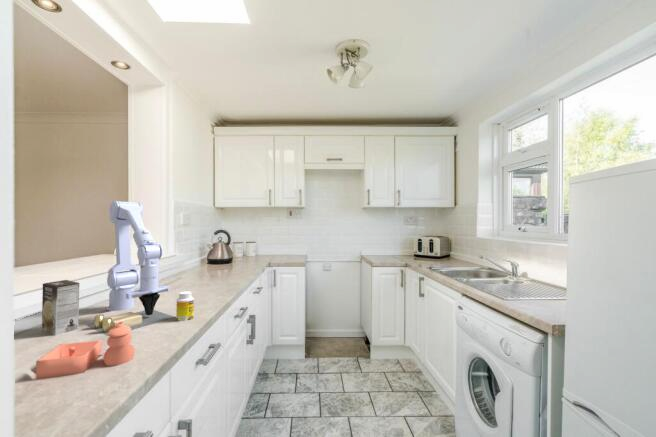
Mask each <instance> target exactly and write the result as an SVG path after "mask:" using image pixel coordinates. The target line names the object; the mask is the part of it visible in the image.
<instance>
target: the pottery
mask: <svg viewBox="0 0 656 437" xmlns="http://www.w3.org/2000/svg"><path fill="white" fill-rule="evenodd" d="M131 331H132V330H131V328H130V327H129V326H127V325H124V322H118V323H116V327H114V328H112V329H110V330H109V332H108V334H109V336H108V338H107V340H106V344H107V346H108V348H107V349H106V350H105V352H104V354H103V361H104V364H105V366H109V367H111V366H112V367H113V366H119V365H123V364H127V363H128V362H130V361H131V360H133V359H134V355H135V346H133V344H132V343H130V342H131V341H132V338H133V337H132V336H133V335H132V334H131V333H130V332H131ZM101 356H102V339H101V340H91V341H90V340H89V341H80V342H79V341H78V342H72V343H60V344H59V345H57V346H56V347H54V348H53V349H51V350H50V351H48V352H47V353H45V355H42V356H41V357H40V358H39V359H37V360H36V362H35V379H36V380H37V379H38V380H39V379H45V378H53V377H61V376H68V375H76V374H77V375H78V374H83V373H85V372H86V371H87V370H88V369H89V368H90V367H91V366H92V365H93V364H94V363H95V362H96V361H97V360H98V359H99V358H100V357H101Z"/></svg>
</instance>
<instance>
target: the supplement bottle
mask: <svg viewBox="0 0 656 437" xmlns="http://www.w3.org/2000/svg"><path fill="white" fill-rule="evenodd" d="M178 295H179V296H178V298H176V316H175V318H176V321H177V322H186V321H190V320H193V319H194V309H195V308H194V305H195V304H194V301H195V298H194V297H193V296H192V291H190V290H189V291H181V292H179V294H178Z"/></svg>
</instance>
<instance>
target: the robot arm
mask: <svg viewBox="0 0 656 437" xmlns="http://www.w3.org/2000/svg"><path fill="white" fill-rule="evenodd" d="M143 212H144V207H143V205H142V203H141V202H140V201H119V200H113V201H112V202H111V203H110V206H109V218H110V219H109V220H110V222H111V223H113V224H114V235H115V258H116V260H115V261H116V263H115V264H114V265H113V266H112V267H111V268H109V269H108V271H107V278H106V283H107V286H108V288H109V289H110V291H109V295H108V297H109V298H108V301H109V302H108V307H107V308H106V311H110V312H114V311H126V310H130V309H132V308H134V307H135V298H138V299H139V301H140V302H141V304H142V306H143V308H144V310H145V313H146V315H152V314H153V310H155V306H156V304H157V302H158V300H159V299H160V295H161V294H160V293H164V292H171V285H168V284H167V285H160V286H159V276H160V274H159V272H160V270H159V268H160V267H159V266H160V264H159V263H160V261H159V260H160V259H161V258H162V256H163V248H162V246H161V244H160V243H158V242H156V241H155V239H154V238H153V235H152V232H150V230H149V229H147V228H146V227H145V224H144V221H143V218H142V215H143ZM130 227H131V229H132V230H133V234H132V238H133V240H134V243H135V244H136V247H137V253H136V254H137V259H138V260H137V261H138V266H136V264H133V263H132V254H131V253H132V252H131V232H130V231H131V230H130ZM139 266H140V272H139ZM139 283H140V284H139ZM137 285H139V289H137V290H135V288H136V287H137Z"/></svg>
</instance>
